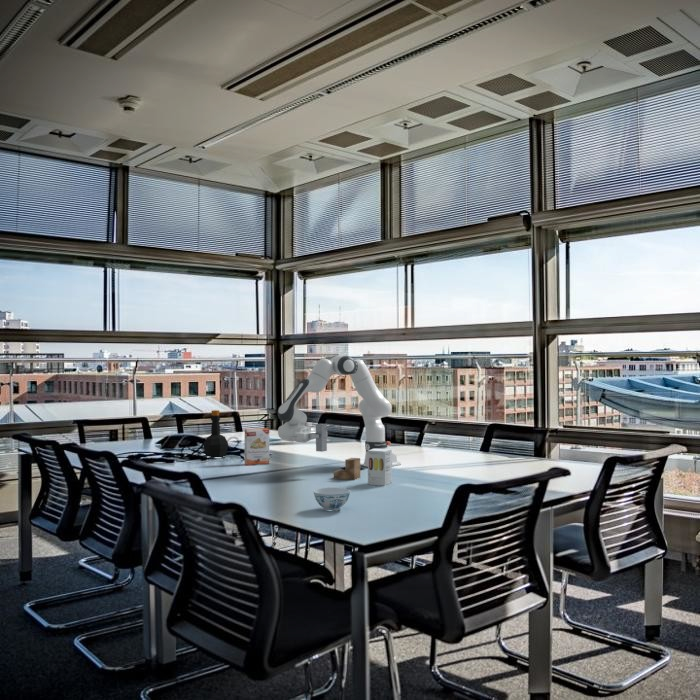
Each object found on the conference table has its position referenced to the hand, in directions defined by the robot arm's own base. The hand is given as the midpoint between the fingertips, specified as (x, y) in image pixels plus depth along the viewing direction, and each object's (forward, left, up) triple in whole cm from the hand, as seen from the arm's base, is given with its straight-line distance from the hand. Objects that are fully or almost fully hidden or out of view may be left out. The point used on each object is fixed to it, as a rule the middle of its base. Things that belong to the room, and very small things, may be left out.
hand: (322, 435), depth 373 cm
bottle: (+9, -107, -22) cm, 109 cm away
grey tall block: (0, -1, -8) cm, 8 cm away
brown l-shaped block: (-8, +11, -22) cm, 25 cm away
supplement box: (-10, +35, -22) cm, 42 cm away
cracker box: (+3, -64, -22) cm, 68 cm away
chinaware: (+43, +69, -22) cm, 84 cm away
